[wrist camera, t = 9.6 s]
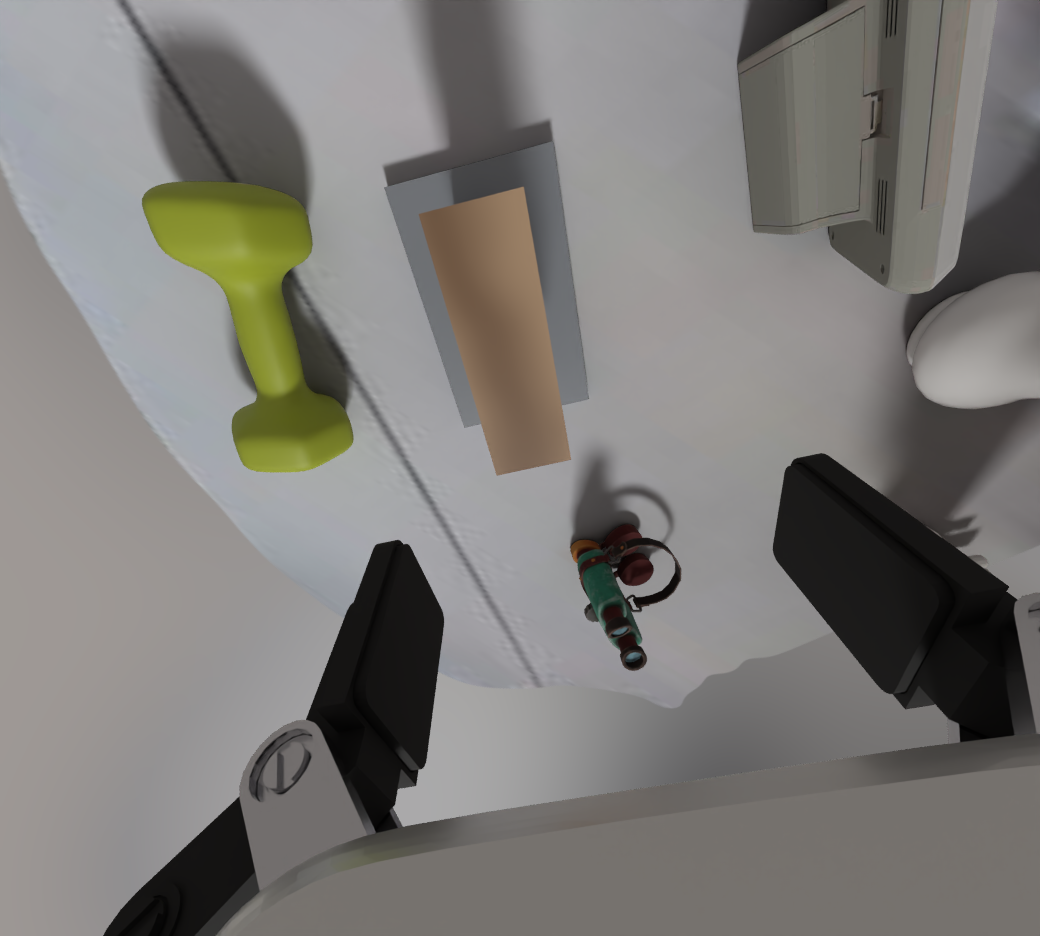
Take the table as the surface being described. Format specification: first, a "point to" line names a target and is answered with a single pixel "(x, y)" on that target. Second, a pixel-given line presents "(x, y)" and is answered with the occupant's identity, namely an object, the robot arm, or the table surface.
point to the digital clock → (871, 131)
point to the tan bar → (500, 326)
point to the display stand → (551, 252)
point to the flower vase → (981, 345)
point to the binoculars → (607, 594)
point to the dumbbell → (255, 311)
